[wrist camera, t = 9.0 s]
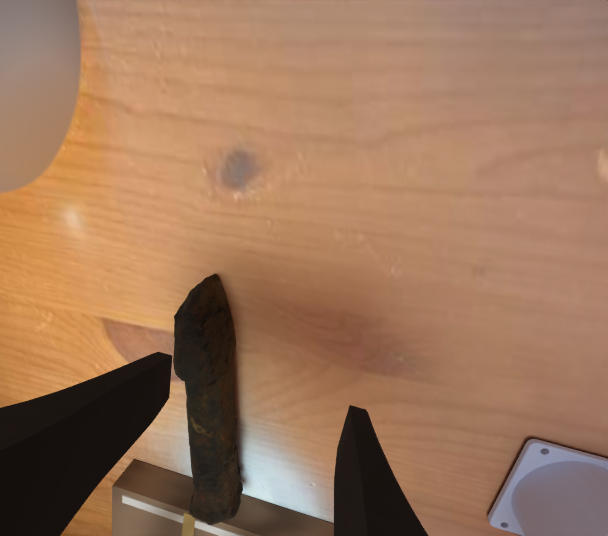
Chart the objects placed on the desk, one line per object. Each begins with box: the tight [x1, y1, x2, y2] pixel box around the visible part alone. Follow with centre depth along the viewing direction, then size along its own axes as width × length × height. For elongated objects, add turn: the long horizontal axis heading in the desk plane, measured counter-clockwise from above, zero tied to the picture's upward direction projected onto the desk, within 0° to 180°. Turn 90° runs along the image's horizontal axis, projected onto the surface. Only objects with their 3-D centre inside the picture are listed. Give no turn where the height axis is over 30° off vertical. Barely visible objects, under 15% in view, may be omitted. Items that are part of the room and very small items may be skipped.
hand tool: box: [173, 274, 243, 525], centre depth 21 cm, size 19×4×5 cm, turn 175°
